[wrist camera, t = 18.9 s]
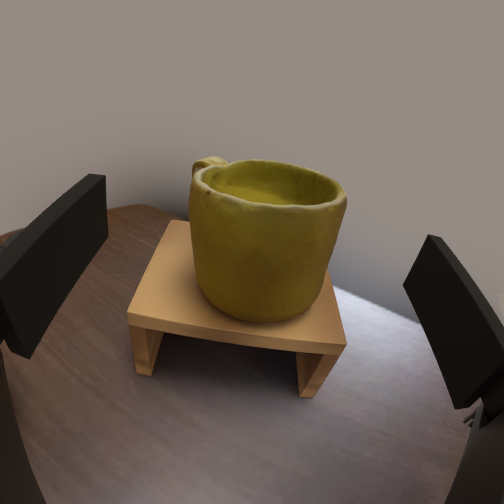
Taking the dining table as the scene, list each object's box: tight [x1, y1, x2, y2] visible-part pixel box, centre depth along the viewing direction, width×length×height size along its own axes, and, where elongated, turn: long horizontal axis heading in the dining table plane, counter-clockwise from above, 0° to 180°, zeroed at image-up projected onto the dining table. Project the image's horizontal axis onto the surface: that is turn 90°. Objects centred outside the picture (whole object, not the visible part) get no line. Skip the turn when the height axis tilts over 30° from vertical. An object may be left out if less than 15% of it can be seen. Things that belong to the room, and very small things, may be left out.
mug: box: [188, 156, 347, 322], centre depth 21 cm, size 12×10×10 cm
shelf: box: [127, 220, 347, 398], centre depth 25 cm, size 14×12×7 cm
